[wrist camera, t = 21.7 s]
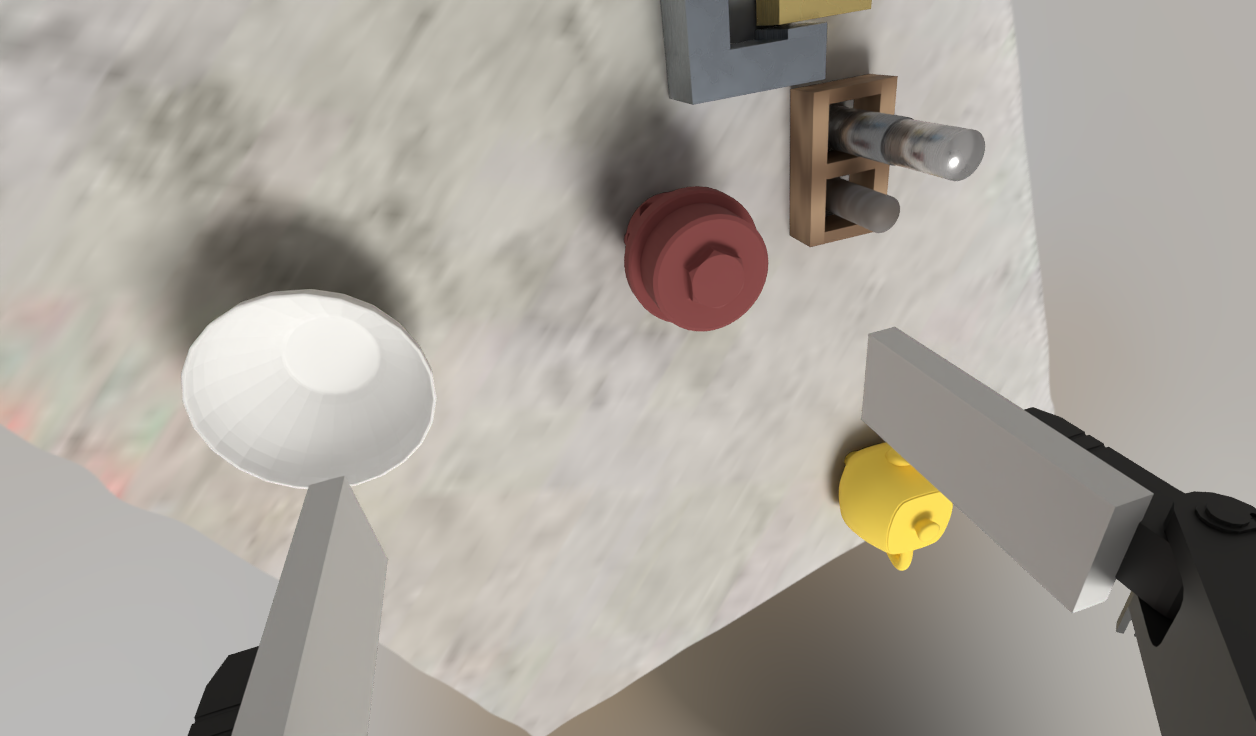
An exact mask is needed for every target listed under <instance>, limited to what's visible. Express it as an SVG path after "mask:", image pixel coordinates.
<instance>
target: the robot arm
mask: <svg viewBox="0 0 1256 736" xmlns="http://www.w3.org/2000/svg"><path fill="white" fill-rule="evenodd" d="M861 419H862V420H863V421H864V422H865V423H866V424H867V425H868V426H869V427H870V428H871V429H872V430H874V431H875V432H876V433H877V434H878V435H879V436H880V437H881V438H882V439H883V440H884V441H886V442H887V443H888V444H889V445H890V446H891V447H892V448H893V449H894V450H895V451H896V452H897V453H899V454H900V455H901V456H902V457H903V458H904V459H905V460H906V461H907V462H908V463H909V464H910V465H912V466H913V467H914V468H915V469H916V470H917V471H918V472H919V473H920V474H921V475H922V476H924V477H925V478H926V479H927V480H928V481H929V482H930V483H931V484H932V485H933V486H934V487H935V488H937V489H938V490H939V491H940V492H941V493H942V494H943V495H944V496H945V497H946V498H947V499H948V500H950V501H951V502H952V503H953V504H954V505H955V506H956V507H957V508H958V509H959V510H961V511H962V512H963V513H964V514H965V515H966V516H967V517H968V518H969V519H970V520H971V521H972V522H973V523H975V524H976V525H977V526H978V527H979V528H980V529H981V530H982V531H983V532H985V534H987V535H988V536H989V537H990V538H991V539H992V540H993V541H994V542H995V543H996V544H997V545H999V546H1000V547H1001V548H1002V549H1003V550H1004V551H1005V552H1006V553H1007V554H1008V555H1009V556H1011V557H1012V558H1013V559H1014V560H1015V561H1016V562H1017V563H1018V564H1019V565H1020V566H1021V567H1022V568H1023V569H1025V570H1026V571H1027V572H1028V573H1029V574H1030V575H1031V576H1032V577H1033V578H1034V579H1036V581H1038V582H1039V583H1040V584H1041V585H1042V586H1043V587H1044V588H1045V589H1046V590H1047V591H1049V592H1050V593H1051V594H1052V595H1053V596H1054V597H1055V598H1056V599H1057V600H1058V601H1059V602H1061V603H1062V604H1063V605H1064V606H1065V607H1066V608H1067V609H1068V610H1069V611H1070V612H1072V613H1074V612H1077V611H1080V610H1083V609H1085V608H1088V607H1091V606H1093V605H1096V604H1099V603H1101V602H1104V601H1106V600H1107V598H1108V596H1109V593H1110V591H1111V589H1112V587H1113V584H1114V582H1115V580H1116V579H1117V580H1119V581H1120V582H1121V583H1122V584H1124V585H1125V586H1126V587H1127V588H1128V589H1130V590H1131V593H1130V595H1129V597H1128V599H1127V602H1126V604H1125V606H1124V608H1123V610H1122V612H1121V615H1120V616H1119V618H1118V621H1117V626H1116V632H1119V633H1124V631H1125V630H1126V628H1127V626H1128V623H1129V621H1130V620H1132V622H1133V626H1134V630H1135V634H1134V636H1135V637H1136V638H1137V642H1138V646H1139V649H1140V653H1141V657H1142V661H1143V665H1144V669H1145V673H1146V677H1147V680H1148V684H1149V688H1150V692H1151V696H1152V700H1153V704H1154V708H1155V711H1156V715H1157V719H1158V723H1159V727H1160V731H1161V735H1162V736H1256V508H1254V507H1253V506H1251V505H1249V504H1246V503H1244V502H1242V501H1239V500H1237V499H1235V498H1232V497H1229V496H1224V495H1220V494H1216V493H1211V492H1190V493H1186V494H1185V493H1183V492H1182V491H1179V490H1178V489H1176V488H1174V487H1173V486H1171V485H1170V484H1168V483H1167V482H1165V481H1163V480H1162V479H1160V478H1158V477H1157V476H1155V475H1154V474H1152V473H1150V472H1149V471H1147V470H1145V469H1144V468H1142V467H1141V466H1139V465H1137V464H1136V463H1134V462H1133V461H1131V460H1129V459H1128V458H1126V457H1124V456H1123V455H1121V454H1120V453H1118V452H1116V451H1115V450H1113V449H1111V448H1110V447H1107V448H1106V447H1105V446H1104V444H1103V443H1102V442H1100V441H1099V440H1097V439H1095V438H1094V437H1092V436H1090V435H1085V432H1084V431H1082V430H1081V429H1079V428H1077V427H1076V426H1074V425H1073V424H1071V423H1069V422H1067V421H1066V420H1065V419H1063V418H1061V417H1059V416H1056V415H1053V414H1050V413H1048V412H1045V411H1042V410H1039V409H1036V408H1034V407H1032V408H1028V409H1025V410H1023V409H1022V408H1020V407H1019V406H1017V405H1015V404H1014V403H1012V402H1011V401H1009V400H1008V399H1006V398H1005V397H1003V396H1002V395H1000V394H998V393H997V392H995V391H994V390H992V389H991V388H989V387H988V386H986V385H984V384H983V383H981V382H980V381H978V380H977V379H975V378H974V377H972V376H970V375H969V374H967V373H966V372H964V371H963V370H961V369H960V368H958V367H957V366H955V365H953V364H952V363H950V362H949V361H947V360H946V359H944V358H943V357H941V356H939V355H938V354H936V353H935V352H933V351H932V350H930V349H929V348H927V347H926V346H924V345H922V344H921V343H919V342H918V341H916V340H915V339H913V338H912V337H910V336H908V335H907V334H905V333H904V332H902V331H901V330H899V329H898V328H896V327H892V328H888V329H885V330H881V331H877V332H874V333H870V334H869V335H868V347H867V359H866V370H865V382H864V394H863V406H862V417H861ZM387 562H388V558H387V556H386V554H385V552H384V550H383V548H382V546H381V544H380V542H379V541H378V539H377V537H376V535H375V533H374V531H373V529H372V527H371V525H370V523H369V521H368V519H367V517H366V515H365V514H364V512H363V510H362V508H361V506H360V504H359V502H358V500H357V498H356V496H355V494H354V492H353V490H352V488H351V486H350V485H349V483H348V481H347V479H346V477H345V475H344V476H341V477H337V478H333V479H330V480H326V481H322V482H319V483H315V484H311V485H309V487H308V490H307V494H306V497H305V500H304V503H303V507H302V510H301V513H300V516H299V519H298V523H297V526H296V529H295V532H294V535H293V539H292V542H291V545H290V548H289V552H288V555H287V558H286V561H285V564H284V568H283V571H282V574H281V577H280V581H279V584H278V587H277V590H276V593H275V597H274V600H273V603H272V606H271V609H270V613H269V616H268V619H267V622H266V626H265V629H264V632H263V635H262V638H261V642H260V645H259V646H257V647H254V648H251V649H248V650H244V651H241V652H238V653H235V654H231V655H228V657H227V658H226V660H225V661H224V663H223V664H222V666H221V667H220V668H219V669H218V671H217V672H216V673H215V675H214V676H213V678H212V679H211V680H210V682H209V683H208V684H207V686H206V688H205V691H204V693H203V696H202V699H201V701H200V704H199V707H198V709H197V712H196V715H195V723H194V724H192V726H191V728H190V731H189V734H188V736H367V735H368V726H369V718H370V710H371V701H372V692H373V684H374V674H375V666H376V657H377V649H378V640H379V632H380V623H381V614H382V606H383V597H384V588H385V580H386V571H387Z"/></svg>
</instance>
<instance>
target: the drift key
mask: <svg viewBox="0 0 1256 736" xmlns="http://www.w3.org/2000/svg"><path fill="white" fill-rule="evenodd" d="M871 2H872V0H756V15H757V26H760V25H781V24H786V23H792V22H798V21H803V20H809V19H815V18H821V17H826V16H832V15H838V14H843V13H849V12H855V11H861V10H866V9H871Z"/></svg>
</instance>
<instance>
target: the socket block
mask: <svg viewBox="0 0 1256 736" xmlns="http://www.w3.org/2000/svg"><path fill="white" fill-rule="evenodd" d="M660 1H661V12H662V23H663V33H664V44H665V55H666V65H667V76H668V87H669V97H670V99H674V100H677V101H681V102H685V103H689V104H692V105H694V104H699V103H704V102H709V101H715V100H720V99H725V98H730V97H735V96H740V95H746V94H751V93H756V92H761V91H766V90H771V89H777V88H782V87H787V86H792V85H797V84H803V83H808V82H813V81H818V80H823V79H825V74H826V43H827V22H824V23H801V24H788V25H782V26H776V27H770V28H765V29H759V30H755V40H749V41H743V42H738V43H732V44H730V30H729V6H728V0H660Z"/></svg>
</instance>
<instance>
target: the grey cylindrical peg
mask: <svg viewBox="0 0 1256 736" xmlns="http://www.w3.org/2000/svg"><path fill="white" fill-rule="evenodd" d="M828 148H830V149H834V150H838V151H841V152H845V153H848V154H852V155H856V156H859V157H863V158H866V159H870V160H874V161H877V162H881V163H884V164H888V165H897V166H901V167H905V168H908V169H912V170H916V171H919V172H923V173H927V174H930V175H934V176H938V177H941V178H945V179H948V180H952V181H960V180H963V179H965V178H967V177H968V176H970V175H971V174H972V173H973V172H974V171H975V170H976V169H977V167H978V166H979V164H980V163H981V161H982V158H983V155H984V151H985V141H984V138H983V136H982V134H981V133H980V132H978V131H976V130H972V129H966V128H960V127H954V126H948V125H942V124H936V123H930V122H924V121H918V120H914V119H912V118H910V117H904V116H898V115H892V114H886V113H880V112H874V111H867V110H861V109H855V108H849V107H843V106H837V105H829V122H828Z"/></svg>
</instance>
